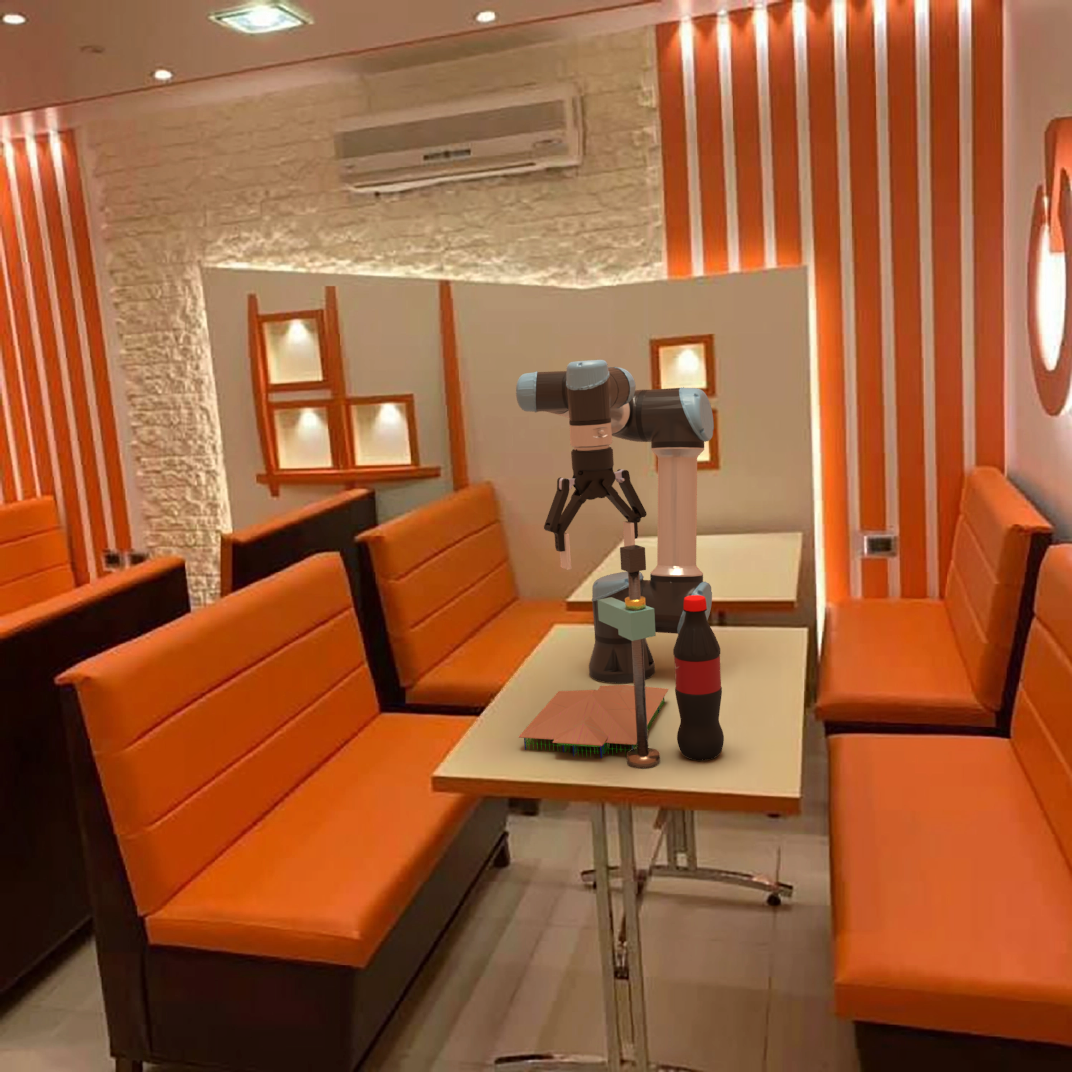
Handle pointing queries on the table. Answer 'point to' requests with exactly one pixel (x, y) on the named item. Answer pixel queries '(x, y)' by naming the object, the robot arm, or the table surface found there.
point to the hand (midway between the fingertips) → (598, 562)
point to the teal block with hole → (627, 619)
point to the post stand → (638, 659)
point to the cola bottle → (698, 684)
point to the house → (593, 718)
